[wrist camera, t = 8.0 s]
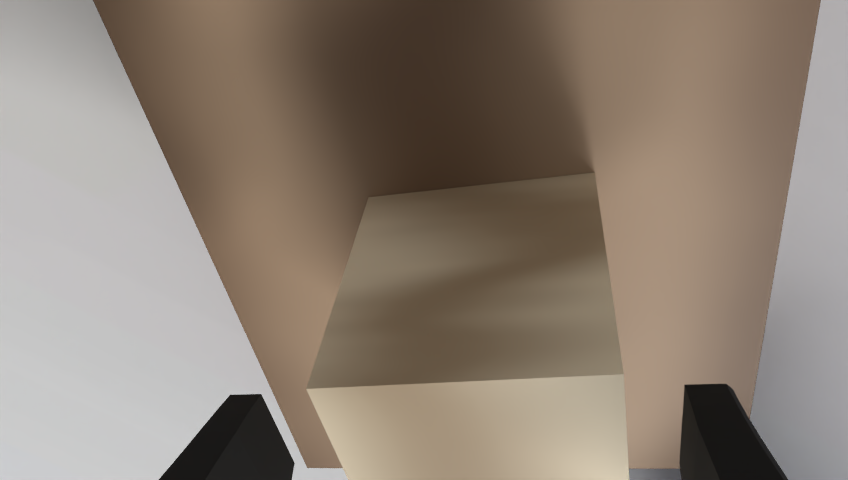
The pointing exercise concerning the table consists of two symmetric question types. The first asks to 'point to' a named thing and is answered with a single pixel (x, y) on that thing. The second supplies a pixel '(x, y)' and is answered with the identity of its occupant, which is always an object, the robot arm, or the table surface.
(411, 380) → the maple cube
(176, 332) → the table surface
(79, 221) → the table surface
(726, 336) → the walnut block
